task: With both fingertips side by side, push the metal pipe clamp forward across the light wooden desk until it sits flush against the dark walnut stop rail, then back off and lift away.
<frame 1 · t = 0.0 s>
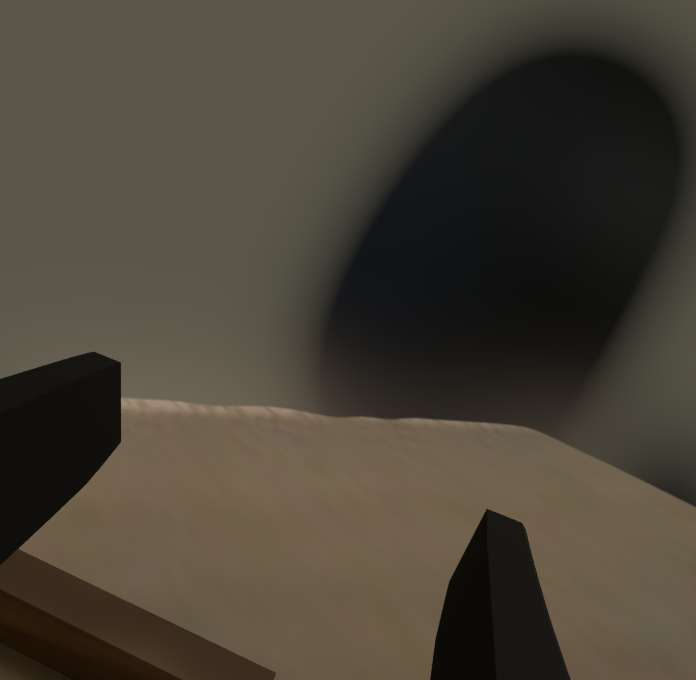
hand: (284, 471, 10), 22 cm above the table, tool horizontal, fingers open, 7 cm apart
stop rail: (70, 651, 27), on the table
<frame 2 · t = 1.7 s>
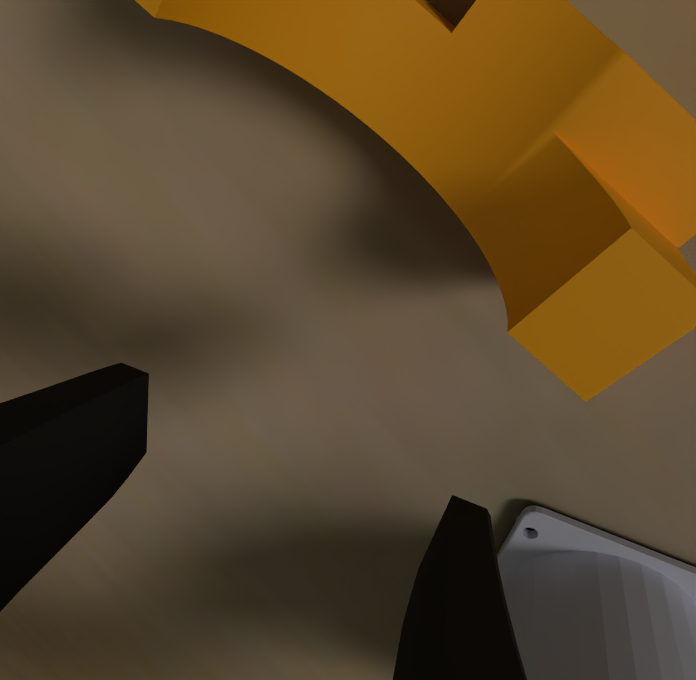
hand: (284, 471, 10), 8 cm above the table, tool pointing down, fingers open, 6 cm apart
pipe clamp: (468, 63, 14), on the table
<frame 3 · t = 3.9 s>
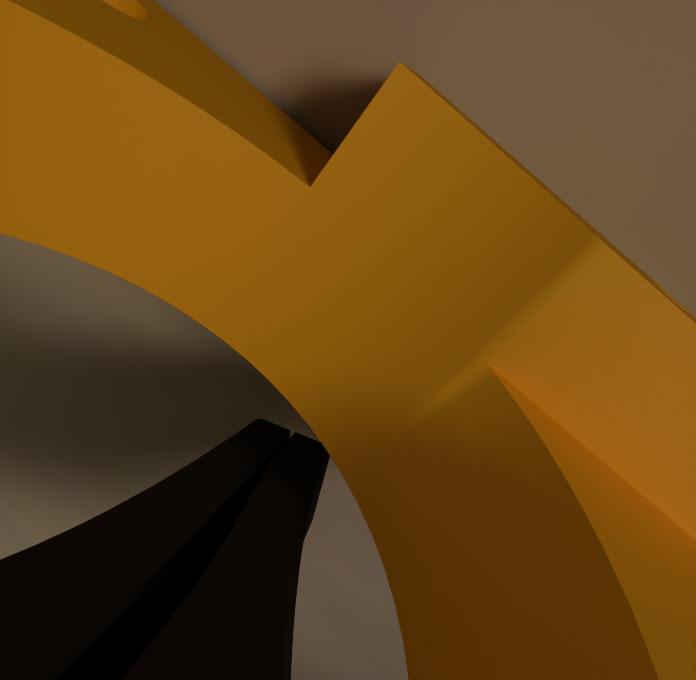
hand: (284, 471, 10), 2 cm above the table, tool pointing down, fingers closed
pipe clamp: (362, 208, 9), on the table, touching gripper
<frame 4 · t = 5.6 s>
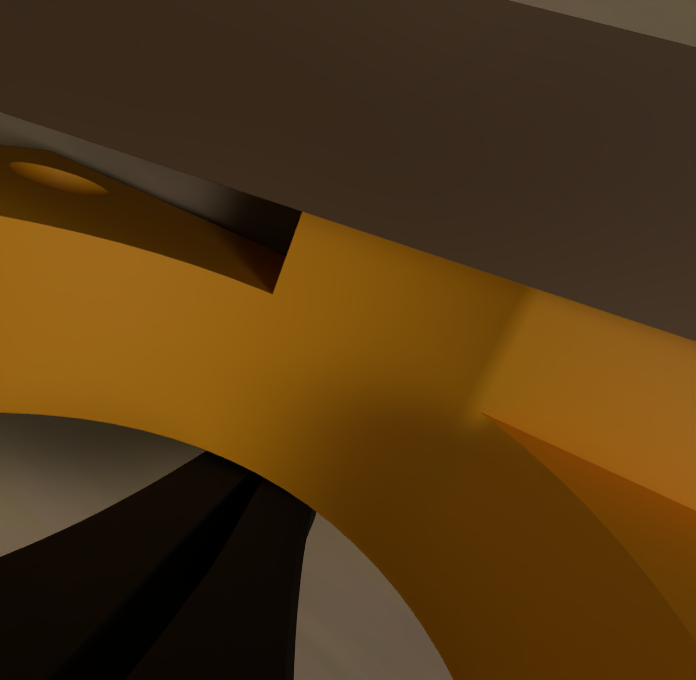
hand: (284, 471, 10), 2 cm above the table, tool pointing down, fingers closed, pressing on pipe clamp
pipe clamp: (338, 301, 10), on the table, touching gripper, stop rail
stop rail: (426, 75, 8), on the table
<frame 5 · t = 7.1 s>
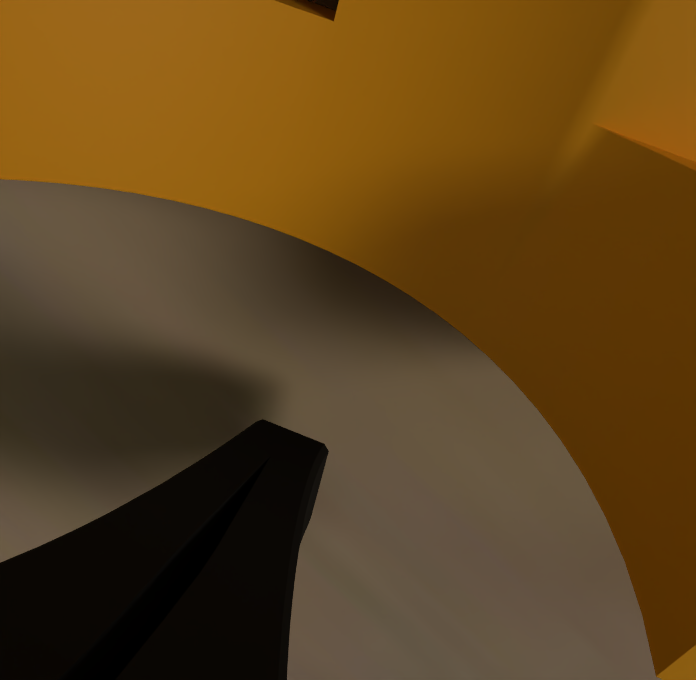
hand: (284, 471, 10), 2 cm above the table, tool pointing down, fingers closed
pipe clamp: (408, 69, 8), on the table
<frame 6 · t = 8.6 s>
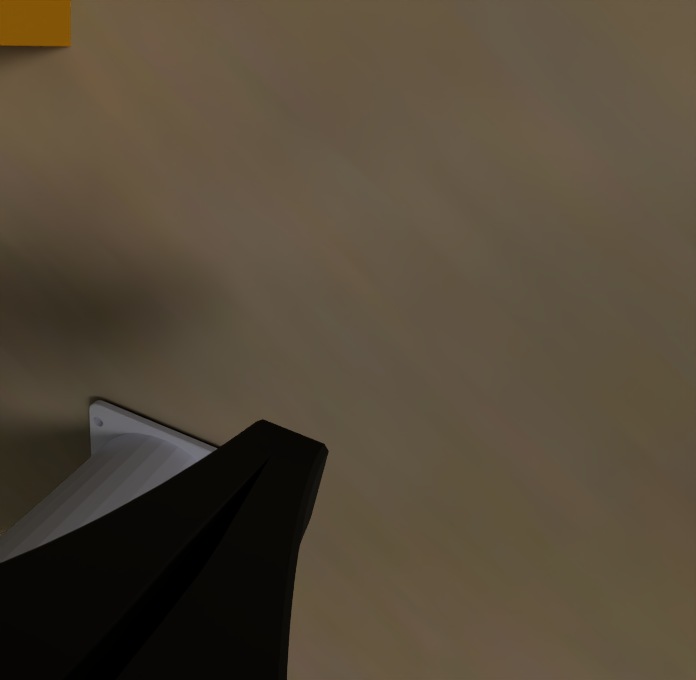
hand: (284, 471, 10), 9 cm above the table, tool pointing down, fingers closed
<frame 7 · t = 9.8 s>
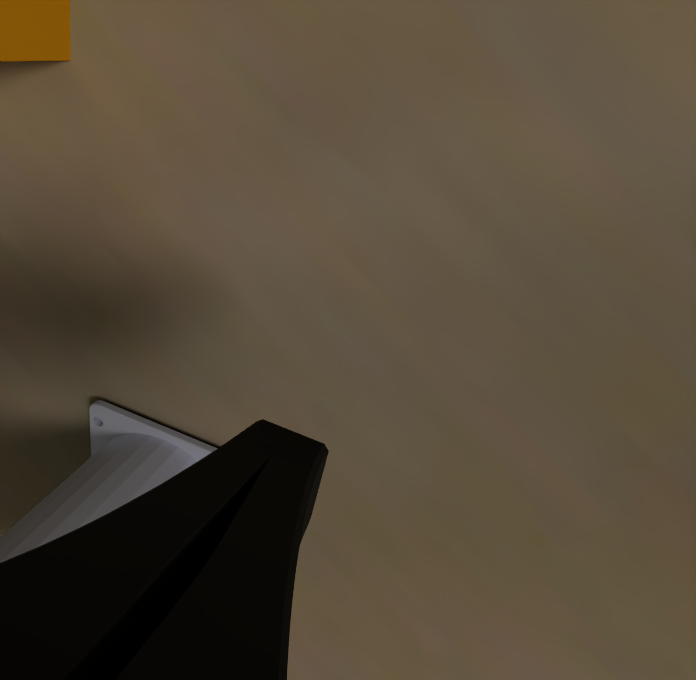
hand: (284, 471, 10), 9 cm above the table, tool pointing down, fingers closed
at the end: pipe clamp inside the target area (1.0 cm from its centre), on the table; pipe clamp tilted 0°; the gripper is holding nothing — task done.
